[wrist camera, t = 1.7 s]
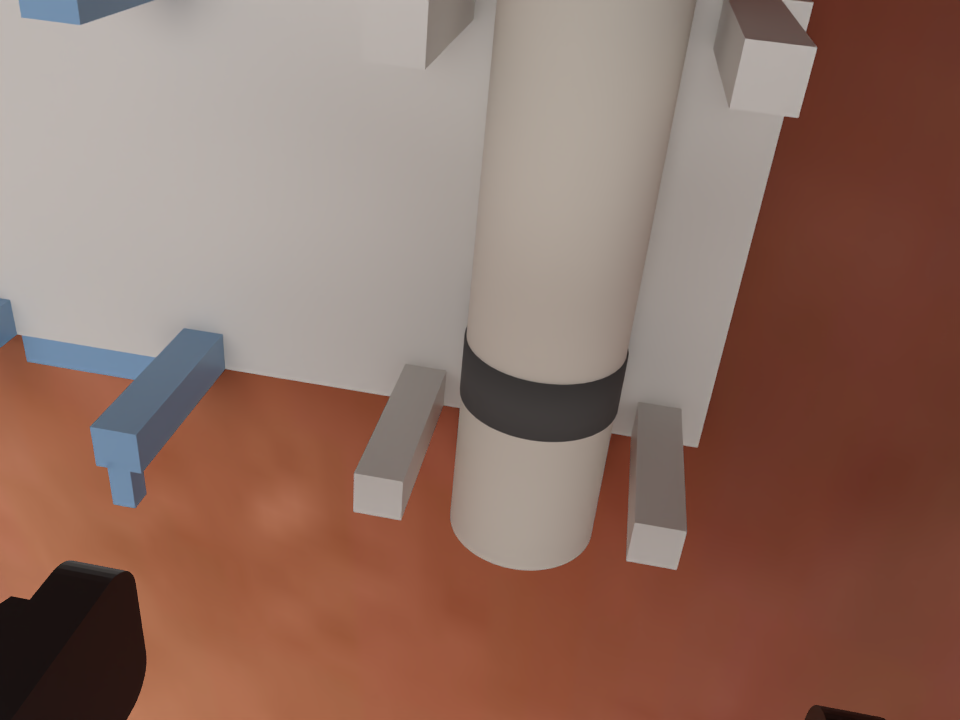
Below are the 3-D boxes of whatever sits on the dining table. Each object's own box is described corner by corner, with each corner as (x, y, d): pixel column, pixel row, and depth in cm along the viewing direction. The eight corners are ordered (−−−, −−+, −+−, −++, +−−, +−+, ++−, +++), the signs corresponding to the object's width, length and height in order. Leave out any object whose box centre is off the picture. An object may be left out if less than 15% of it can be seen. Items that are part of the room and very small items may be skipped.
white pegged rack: (808, -4, 20) (859, 52, 15) (688, 464, 27) (695, 611, 22) (-241, -125, 23) (-499, -113, 18) (-110, 329, 30) (-270, 434, 25)
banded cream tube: (518, -135, 19) (492, -128, 16) (712, -115, 19) (730, -103, 15) (461, 464, 27) (436, 557, 24) (596, 486, 27) (590, 583, 24)
